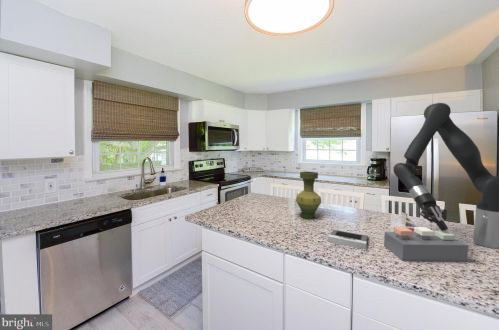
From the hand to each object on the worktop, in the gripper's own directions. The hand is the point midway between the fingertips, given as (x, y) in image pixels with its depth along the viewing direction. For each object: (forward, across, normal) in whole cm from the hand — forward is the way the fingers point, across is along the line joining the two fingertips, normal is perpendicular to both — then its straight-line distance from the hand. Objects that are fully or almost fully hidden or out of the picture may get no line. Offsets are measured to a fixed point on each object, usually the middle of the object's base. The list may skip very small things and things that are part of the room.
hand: (445, 230), depth 100 cm
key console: (+6, -9, +9) cm, 14 cm away
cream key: (+3, -9, +5) cm, 11 cm away
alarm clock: (-6, -33, +22) cm, 40 cm away
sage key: (+5, 0, +5) cm, 7 cm away
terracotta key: (+1, -18, +6) cm, 19 cm away
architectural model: (-16, +12, +33) cm, 38 cm away
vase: (-33, -40, +47) cm, 70 cm away
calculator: (-4, +1, +20) cm, 20 cm away
